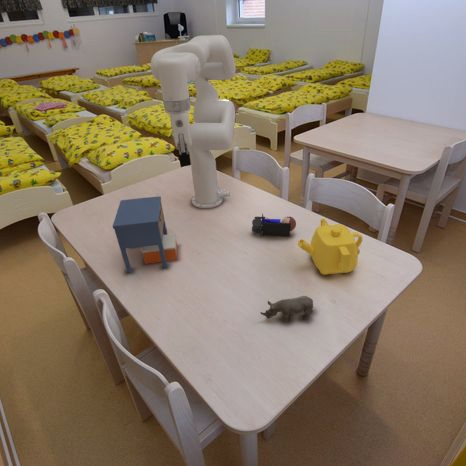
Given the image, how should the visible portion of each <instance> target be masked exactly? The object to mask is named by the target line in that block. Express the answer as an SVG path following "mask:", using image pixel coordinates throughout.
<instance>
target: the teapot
mask: <svg viewBox="0 0 466 466" xmlns="http://www.w3.org/2000/svg"><path fill="white" fill-rule="evenodd" d="M355 238H357V240H356V239H355ZM362 242H363V236H362V234H360V233H359V232H356V231H355V232H351V230H350V229H349V228H348V227H347V226H345V225H344V224H338V223H337V224H328V222H327V219H326V218H320V226H317V227H316V228H315V231H314V233H313V234H312V236H311V241H310V244H309V243H308V242H307V241H306V240H305V239H303V238H302V239H300V240H299V241H298V242H297V247H299V248H300V249H301V250H302V251H305V252H306V253H307V254H308V255H310V256H311V259H312V262H313V263H314V265H315V267H316V268H317V270H319V274H321V275H323V276H327V275H330V274H331V275H333V274H343V273H344V274H348V273H350V272H352V271H354V270H355V269H356V267H357V266H358V255H360V254H361V253H360V252H361V250H360V248H359V247H360V246H361V244H362Z"/></svg>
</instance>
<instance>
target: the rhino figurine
mask: <svg viewBox="0 0 466 466" xmlns="http://www.w3.org/2000/svg"><path fill="white" fill-rule="evenodd" d="M267 305H268V306H269V308H268V309H265V311H264V312H262V311H260V314H261V315H262V316H264V317H266V319H268V320H269V319H271V318H273V317H276V316H277V315H278V313H282V314H283V316H284V317H283V322H284V323H288V322H289V321H290V315H291V314H292V315H299V314H302V313H303V312H304V315H303V316H302V320H306V321H308V320H309V319H310V315H311V313H314V310H313V308H314V300H313V299H312V298H311V297H309V296H307V295H301V296H298V297H293V298H283V299H279V300H278V301H275V302H273V303H272V302H271V301H269V300H268V301H267Z"/></svg>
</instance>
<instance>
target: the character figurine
mask: <svg viewBox="0 0 466 466" xmlns="http://www.w3.org/2000/svg"><path fill="white" fill-rule="evenodd" d="M251 225H252V226H251V232H252V233H253V234H255V235H259V234H261V233H262V234H261V235H262V236H263V237H286V238H287V237H290V236H291V232H292V231H294V230H295V229H296V227H297V221H296V219H295V218H294V217H293V216H289V215H287V216H284V218H282V220H281V218H269V217H266V216H264V214H263V213H262V214H261V216H255V217H254V218H253V219H252V221H251Z"/></svg>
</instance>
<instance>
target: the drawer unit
mask: <svg viewBox="0 0 466 466" xmlns="http://www.w3.org/2000/svg"><path fill="white" fill-rule="evenodd" d="M160 204H161V207H162V212H163V229H162V239H161V235H160V230H159V225H158V223H159V214H160ZM112 229H113V231H114V233H115V236H116V240H117V243H118V246H119V250H120V253H121V256H122V260H123V263H124V266H125V270H126V273H127V274H131V273H132V272H133V270H132V267H131V262H130V260H129V255H128V252H127V249H134V248H142V247H144V246H153V245H158V247H159V251H160V256H161V261H162V262H161V264H162V268H163V269H168V263H167V262H168V261H166V257H165V253H164V248H163V243H162V240H163V235H168V230H167V226H166V220H165V215H164V210H163V204H162V196H160V195H158V196H150V197H140V198H139V197H138V198H131V199H130V198H129V199H121V200H120V202H119V205H118V208H117V211H116V214H115V217H114V220H113V223H112Z"/></svg>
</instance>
